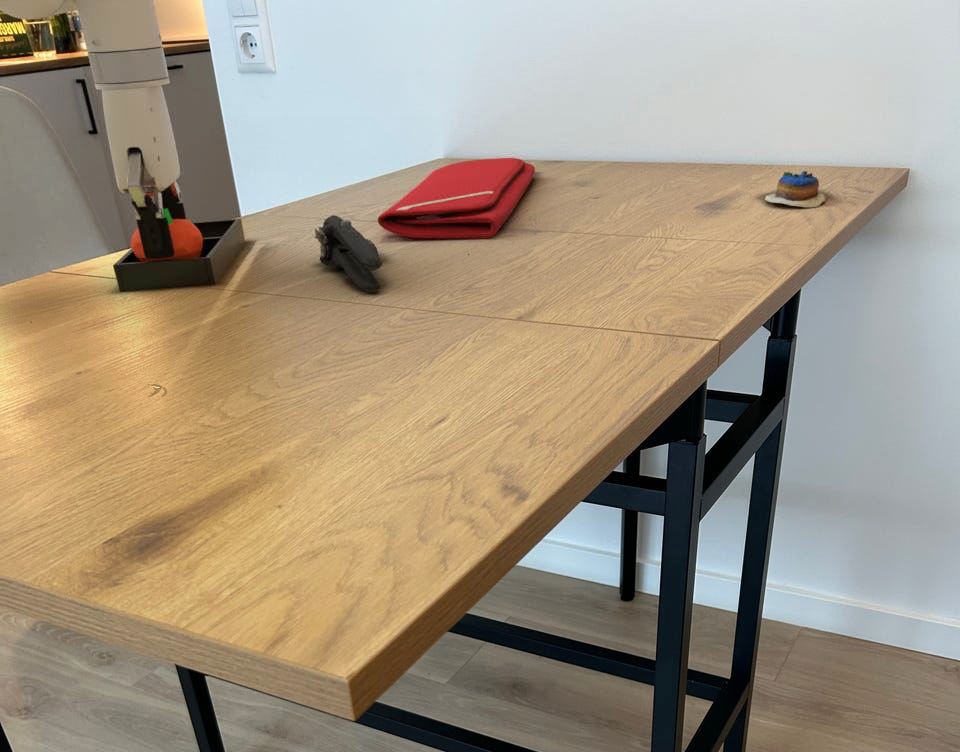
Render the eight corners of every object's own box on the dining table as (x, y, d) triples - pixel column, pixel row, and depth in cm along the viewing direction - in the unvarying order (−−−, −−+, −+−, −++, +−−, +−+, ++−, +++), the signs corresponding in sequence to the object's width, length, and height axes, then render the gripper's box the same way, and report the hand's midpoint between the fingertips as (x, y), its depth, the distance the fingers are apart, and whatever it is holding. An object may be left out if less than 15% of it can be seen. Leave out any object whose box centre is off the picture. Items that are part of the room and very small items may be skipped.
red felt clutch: (537, 177, 157) (536, 150, 154) (499, 238, 123) (498, 206, 121) (439, 181, 159) (437, 155, 157) (376, 242, 126) (372, 211, 124)
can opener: (313, 264, 119) (305, 213, 116) (370, 255, 120) (364, 205, 117) (341, 300, 104) (333, 244, 101) (406, 290, 106) (400, 234, 103)
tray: (121, 297, 111) (112, 265, 109) (163, 253, 129) (157, 224, 127) (216, 290, 111) (209, 257, 109) (246, 247, 129) (241, 218, 127)
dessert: (821, 203, 124) (798, 160, 123) (774, 234, 128) (751, 193, 128) (835, 196, 130) (813, 154, 129) (790, 225, 134) (768, 186, 134)
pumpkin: (135, 266, 117) (121, 207, 113) (204, 257, 119) (193, 199, 115) (139, 280, 111) (124, 218, 107) (211, 270, 113) (200, 210, 109)
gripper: (116, 66, 111) (153, 234, 121) (68, 80, 97) (115, 269, 106) (183, 61, 111) (215, 230, 121) (145, 75, 97) (185, 265, 106)
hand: (168, 247), depth 114 cm, fingers closed on pumpkin, 7 cm apart
